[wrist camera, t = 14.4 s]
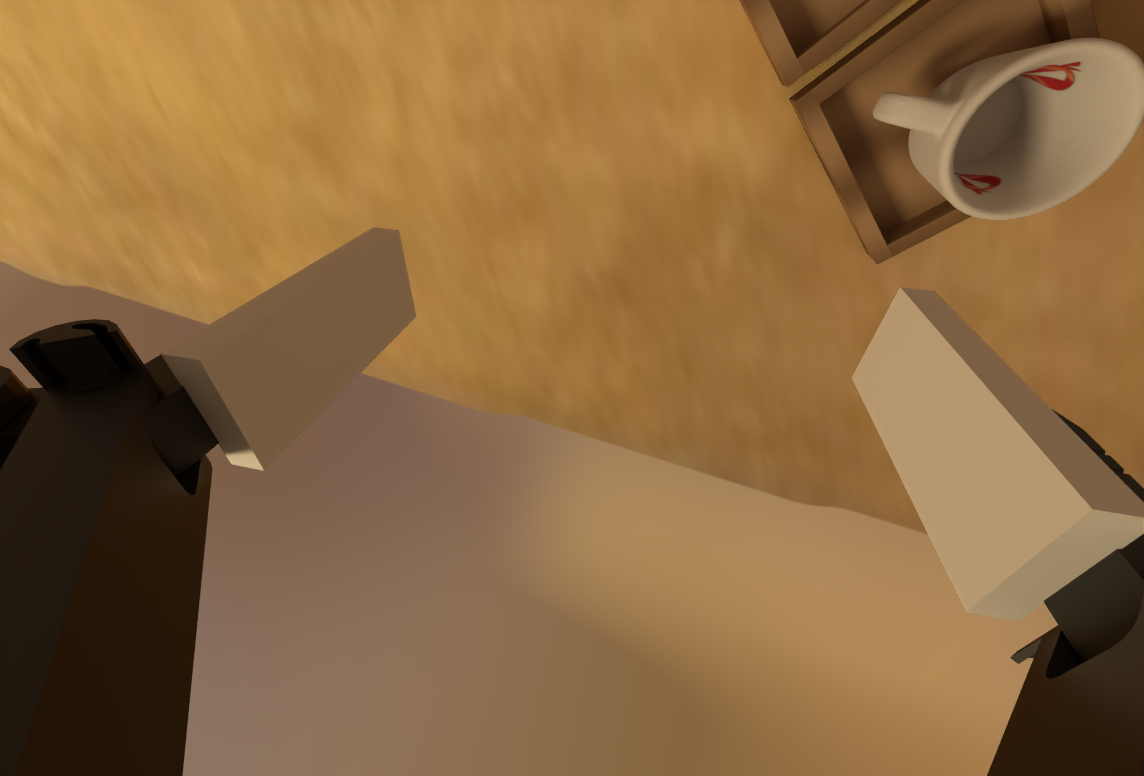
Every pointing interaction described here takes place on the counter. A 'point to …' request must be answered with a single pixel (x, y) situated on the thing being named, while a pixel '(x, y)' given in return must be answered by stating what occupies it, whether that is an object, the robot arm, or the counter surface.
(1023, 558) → the robot arm
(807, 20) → the tray
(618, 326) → the counter surface
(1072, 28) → the tray
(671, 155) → the counter surface
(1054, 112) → the cup
